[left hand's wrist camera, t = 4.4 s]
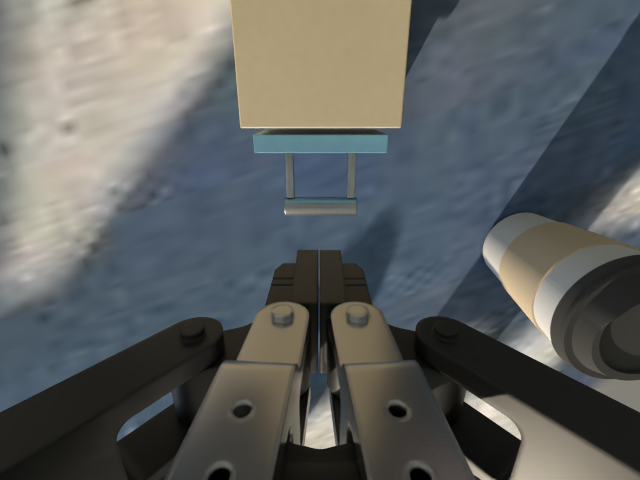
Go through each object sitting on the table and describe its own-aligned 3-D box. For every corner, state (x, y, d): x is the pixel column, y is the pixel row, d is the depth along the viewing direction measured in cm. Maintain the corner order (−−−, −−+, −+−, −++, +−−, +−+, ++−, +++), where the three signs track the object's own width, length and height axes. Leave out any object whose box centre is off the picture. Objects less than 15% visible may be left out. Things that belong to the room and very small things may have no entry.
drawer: (370, 204, 31) (382, 227, 25) (270, 204, 31) (259, 227, 25) (389, -148, 23) (415, -240, 17) (251, -148, 23) (226, -240, 17)
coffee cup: (580, 246, 34) (763, 344, 20) (503, 300, 36) (618, 421, 22) (533, 181, 32) (704, 240, 18) (453, 243, 34) (548, 339, 20)
